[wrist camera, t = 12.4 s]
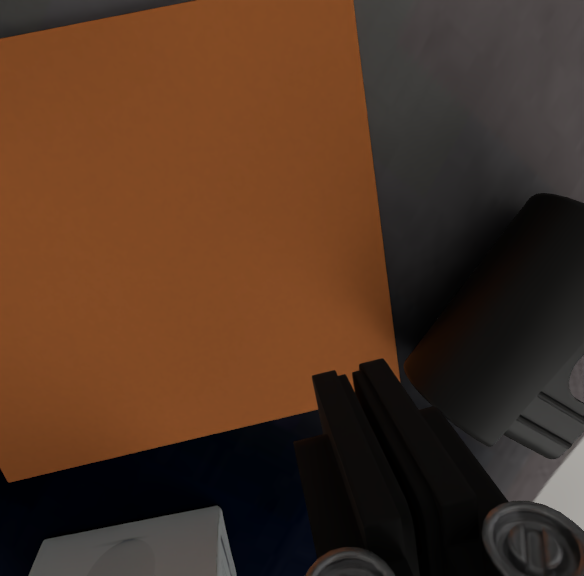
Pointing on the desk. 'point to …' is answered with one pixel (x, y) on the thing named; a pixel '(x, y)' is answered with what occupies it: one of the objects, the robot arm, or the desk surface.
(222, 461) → the desk surface
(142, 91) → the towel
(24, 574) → the desk surface
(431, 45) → the desk surface
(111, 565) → the cosmetics box
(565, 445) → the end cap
